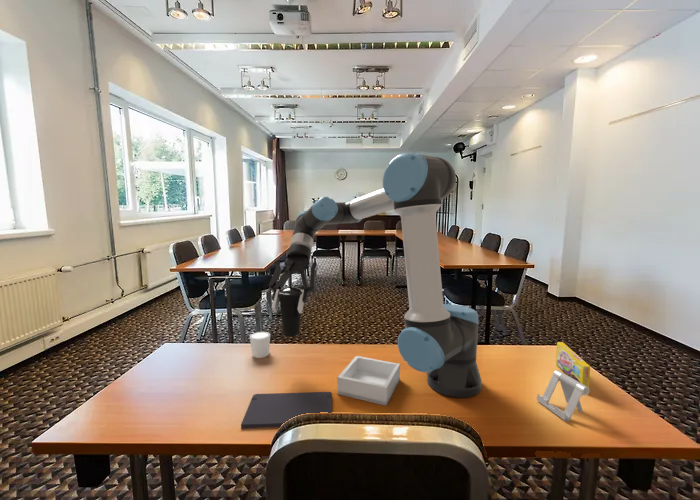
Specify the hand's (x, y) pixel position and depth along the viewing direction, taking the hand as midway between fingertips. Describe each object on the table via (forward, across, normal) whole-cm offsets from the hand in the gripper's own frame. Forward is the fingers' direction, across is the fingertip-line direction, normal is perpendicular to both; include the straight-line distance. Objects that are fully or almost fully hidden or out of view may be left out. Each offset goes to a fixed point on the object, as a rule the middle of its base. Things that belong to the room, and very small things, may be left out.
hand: (286, 310), depth 100 cm
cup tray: (+17, -25, -12) cm, 33 cm away
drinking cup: (+4, 0, -9) cm, 9 cm away
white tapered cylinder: (+6, +14, -23) cm, 28 cm away
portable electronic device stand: (+20, -75, -10) cm, 78 cm away
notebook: (+27, -6, -3) cm, 28 cm away
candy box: (+9, -84, -22) cm, 88 cm away
